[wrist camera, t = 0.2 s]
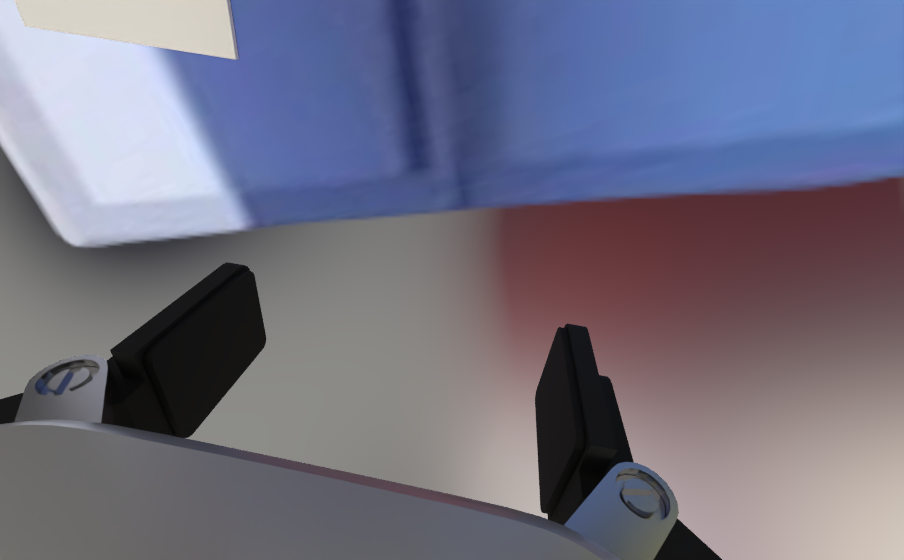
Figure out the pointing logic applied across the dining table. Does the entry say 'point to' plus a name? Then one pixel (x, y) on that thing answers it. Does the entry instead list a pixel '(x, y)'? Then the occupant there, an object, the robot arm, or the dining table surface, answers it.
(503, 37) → the dining table surface
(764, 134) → the dining table surface
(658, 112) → the dining table surface
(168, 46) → the rubber mat
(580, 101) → the dining table surface
